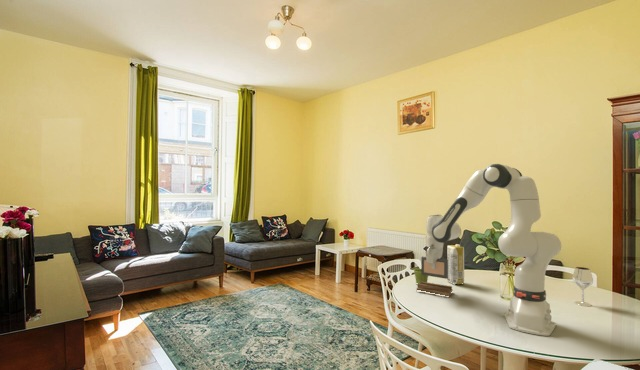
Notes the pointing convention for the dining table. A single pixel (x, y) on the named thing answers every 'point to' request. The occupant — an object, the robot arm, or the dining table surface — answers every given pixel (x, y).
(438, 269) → the picture frame
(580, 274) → the wineglass
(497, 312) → the dining table surface
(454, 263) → the juice carton
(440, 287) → the picture ledge
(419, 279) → the plant pot
